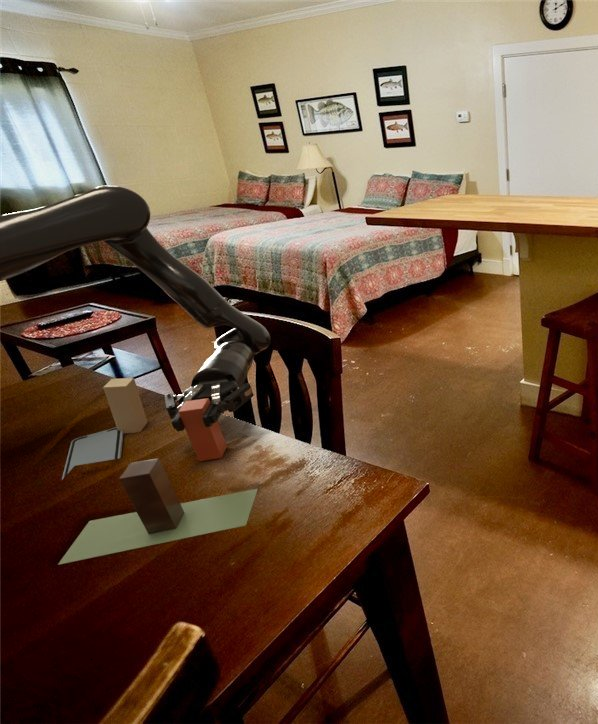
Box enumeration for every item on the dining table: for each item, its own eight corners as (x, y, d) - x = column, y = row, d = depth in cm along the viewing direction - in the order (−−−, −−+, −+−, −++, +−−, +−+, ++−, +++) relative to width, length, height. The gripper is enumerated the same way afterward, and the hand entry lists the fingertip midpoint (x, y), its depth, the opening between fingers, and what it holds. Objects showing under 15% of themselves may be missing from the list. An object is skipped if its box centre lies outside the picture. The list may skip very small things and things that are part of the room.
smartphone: (59, 486, 75) (71, 439, 86) (62, 490, 76) (73, 443, 86) (118, 468, 79) (122, 425, 90) (120, 472, 80) (124, 429, 90)
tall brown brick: (148, 534, 66) (118, 478, 61) (157, 517, 69) (130, 462, 64) (176, 528, 67) (149, 473, 62) (184, 512, 70) (159, 458, 65)
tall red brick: (198, 461, 80) (178, 411, 75) (205, 449, 83) (185, 401, 78) (221, 457, 81) (202, 408, 76) (227, 446, 84) (208, 397, 79)
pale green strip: (60, 570, 62) (57, 564, 61) (92, 525, 69) (89, 520, 68) (247, 530, 68) (245, 525, 67) (259, 493, 75) (258, 488, 74)
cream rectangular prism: (118, 434, 89) (102, 387, 85) (126, 424, 92) (111, 378, 87) (140, 432, 90) (126, 386, 86) (147, 422, 93) (134, 377, 89)
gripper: (172, 363, 87) (130, 411, 72) (258, 353, 90) (234, 397, 76) (186, 398, 90) (149, 451, 75) (268, 387, 94) (248, 435, 79)
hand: (192, 424), depth 76 cm, fingers closed on tall red brick, 3 cm apart
